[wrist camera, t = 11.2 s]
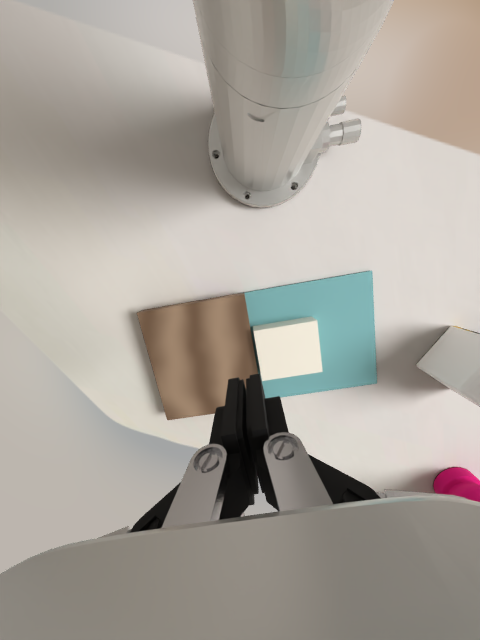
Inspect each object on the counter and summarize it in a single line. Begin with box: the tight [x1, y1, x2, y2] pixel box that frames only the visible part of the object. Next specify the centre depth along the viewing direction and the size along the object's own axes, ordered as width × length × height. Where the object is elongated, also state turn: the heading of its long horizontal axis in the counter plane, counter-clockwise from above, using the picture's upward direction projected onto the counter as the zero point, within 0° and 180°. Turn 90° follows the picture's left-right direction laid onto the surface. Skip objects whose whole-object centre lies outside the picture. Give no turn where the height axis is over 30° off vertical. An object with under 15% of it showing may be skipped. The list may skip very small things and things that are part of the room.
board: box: [137, 293, 258, 420], centre depth 32 cm, size 14×16×2 cm
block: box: [253, 316, 323, 381], centre depth 31 cm, size 8×7×2 cm
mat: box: [244, 271, 377, 398], centre depth 32 cm, size 17×16×1 cm
